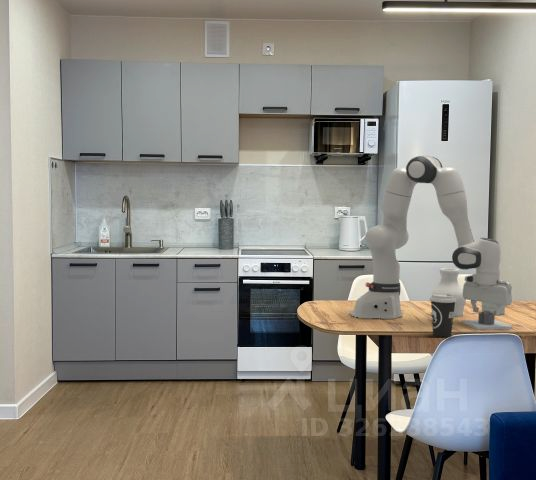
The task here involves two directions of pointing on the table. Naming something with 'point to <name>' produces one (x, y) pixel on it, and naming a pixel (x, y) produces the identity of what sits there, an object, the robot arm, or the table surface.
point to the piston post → (486, 327)
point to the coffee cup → (442, 313)
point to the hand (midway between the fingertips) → (486, 313)
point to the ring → (486, 318)
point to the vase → (451, 288)
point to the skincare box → (492, 307)
